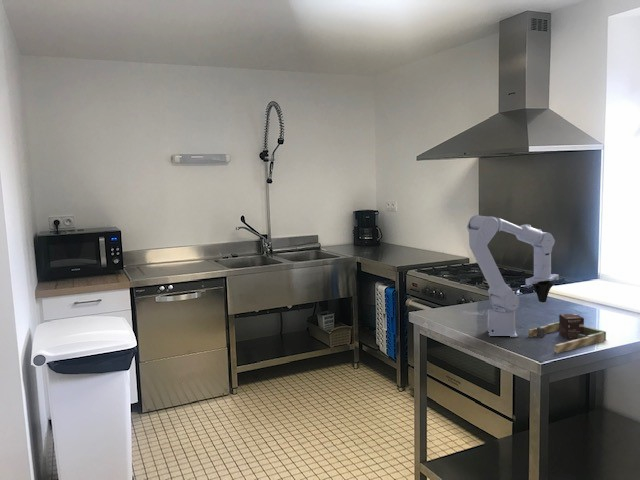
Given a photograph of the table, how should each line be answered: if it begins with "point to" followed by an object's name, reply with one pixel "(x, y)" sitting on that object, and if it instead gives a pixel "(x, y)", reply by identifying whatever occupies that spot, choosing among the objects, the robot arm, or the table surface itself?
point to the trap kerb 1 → (540, 332)
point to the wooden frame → (591, 338)
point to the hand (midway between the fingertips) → (542, 301)
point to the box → (571, 325)
